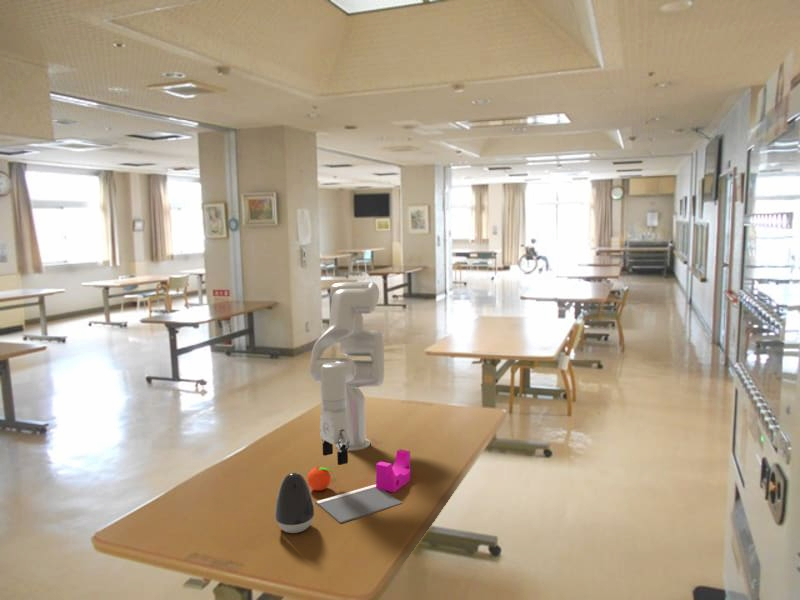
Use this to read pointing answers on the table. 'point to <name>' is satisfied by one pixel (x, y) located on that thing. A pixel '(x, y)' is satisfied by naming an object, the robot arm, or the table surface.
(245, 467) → the table surface
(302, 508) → the dark grey rounded cone
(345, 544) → the table surface
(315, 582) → the table surface
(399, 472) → the toy block
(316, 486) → the clementine
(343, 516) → the mat
